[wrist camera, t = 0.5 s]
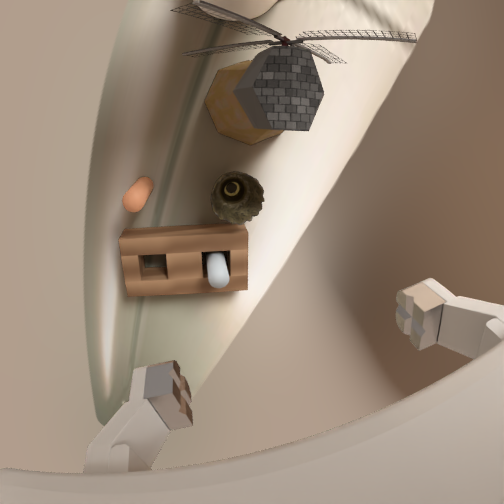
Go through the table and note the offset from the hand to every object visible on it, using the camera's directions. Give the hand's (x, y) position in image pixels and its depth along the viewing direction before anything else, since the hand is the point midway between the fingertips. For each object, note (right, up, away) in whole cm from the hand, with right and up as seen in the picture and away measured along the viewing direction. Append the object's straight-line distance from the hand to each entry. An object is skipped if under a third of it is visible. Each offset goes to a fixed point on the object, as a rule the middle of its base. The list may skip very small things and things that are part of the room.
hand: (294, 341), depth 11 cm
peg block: (-13, +3, +43) cm, 45 cm away
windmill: (-2, +26, +36) cm, 44 cm away
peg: (-19, +14, +38) cm, 44 cm away
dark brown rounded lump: (-5, +13, +41) cm, 43 cm away
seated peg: (-8, +3, +44) cm, 45 cm away
